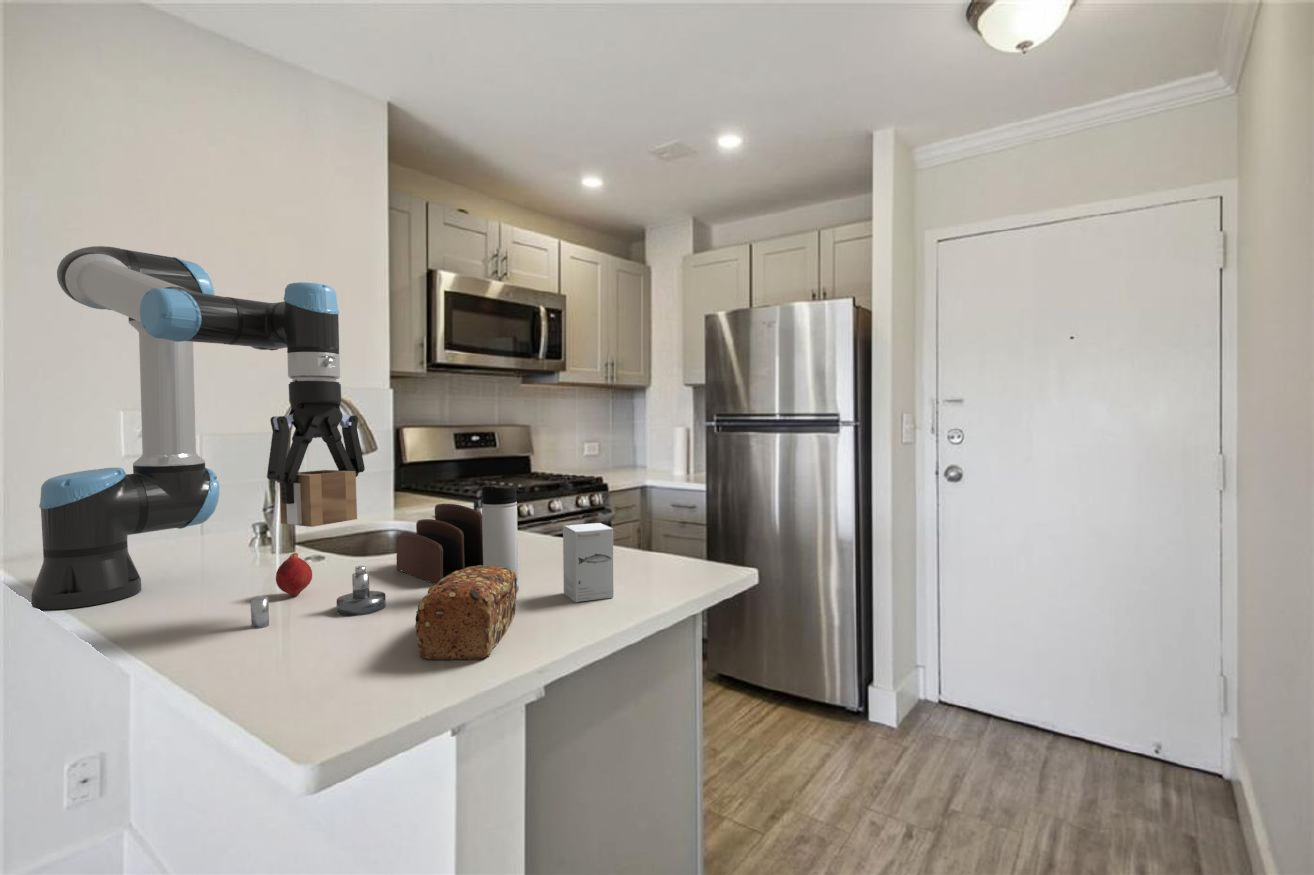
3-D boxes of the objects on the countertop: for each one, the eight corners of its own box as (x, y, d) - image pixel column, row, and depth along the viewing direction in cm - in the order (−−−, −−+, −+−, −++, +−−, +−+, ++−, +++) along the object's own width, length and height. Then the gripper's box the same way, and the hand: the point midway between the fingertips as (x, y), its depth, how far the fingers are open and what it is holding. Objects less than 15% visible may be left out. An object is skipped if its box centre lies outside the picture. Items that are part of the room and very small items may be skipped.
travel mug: (475, 595, 118) (473, 486, 117) (497, 586, 124) (495, 482, 123) (504, 598, 115) (502, 487, 115) (525, 589, 121) (523, 483, 121)
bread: (491, 662, 86) (489, 588, 86) (411, 663, 86) (409, 589, 86) (520, 617, 105) (519, 557, 105) (454, 618, 105) (453, 557, 105)
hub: (326, 612, 109) (325, 569, 108) (365, 600, 115) (364, 560, 115) (357, 618, 105) (356, 574, 105) (395, 605, 112) (394, 564, 112)
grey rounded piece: (248, 626, 101) (247, 599, 101) (263, 622, 104) (262, 595, 103) (257, 629, 100) (256, 601, 100) (272, 624, 102) (271, 597, 102)
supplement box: (574, 603, 112) (573, 531, 111) (562, 593, 119) (561, 524, 118) (614, 598, 115) (613, 527, 114) (601, 588, 122) (600, 521, 121)
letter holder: (439, 562, 145) (438, 500, 144) (487, 577, 131) (485, 508, 130) (395, 570, 138) (394, 505, 137) (440, 587, 124) (439, 514, 123)
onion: (296, 601, 115) (295, 556, 115) (268, 599, 116) (267, 555, 116) (319, 592, 121) (318, 550, 121) (292, 591, 122) (291, 549, 122)
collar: (280, 523, 104) (279, 474, 104) (326, 516, 111) (325, 469, 111) (311, 526, 100) (309, 475, 100) (357, 519, 107) (355, 471, 107)
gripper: (263, 376, 94) (269, 532, 95) (385, 381, 112) (389, 512, 113) (234, 379, 98) (241, 528, 99) (356, 383, 116) (361, 509, 117)
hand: (320, 519), depth 106 cm, fingers closed on collar, 8 cm apart
